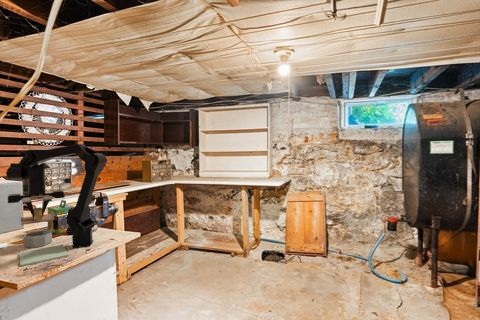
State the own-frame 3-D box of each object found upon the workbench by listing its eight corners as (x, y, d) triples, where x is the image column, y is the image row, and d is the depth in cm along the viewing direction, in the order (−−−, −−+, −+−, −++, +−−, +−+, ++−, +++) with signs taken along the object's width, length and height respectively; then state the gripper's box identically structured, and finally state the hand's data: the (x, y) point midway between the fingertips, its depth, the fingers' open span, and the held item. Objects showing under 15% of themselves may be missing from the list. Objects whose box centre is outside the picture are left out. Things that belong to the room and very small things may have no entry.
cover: (52, 214, 121) (52, 204, 121) (55, 220, 113) (55, 209, 113) (20, 219, 114) (20, 208, 114) (21, 224, 106) (21, 213, 106)
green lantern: (47, 231, 132) (46, 201, 132) (67, 226, 140) (66, 198, 139) (55, 234, 127) (55, 203, 126) (76, 229, 135) (75, 200, 134)
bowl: (50, 238, 121) (50, 228, 121) (52, 244, 114) (52, 233, 114) (24, 243, 115) (23, 233, 115) (24, 249, 108) (24, 238, 108)
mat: (62, 245, 113) (62, 244, 113) (68, 256, 102) (68, 254, 102) (19, 254, 104) (19, 252, 104) (20, 266, 93) (20, 264, 93)
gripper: (60, 176, 125) (61, 209, 126) (7, 179, 113) (8, 216, 114) (64, 178, 117) (65, 214, 117) (6, 182, 105) (8, 222, 105)
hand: (37, 216), depth 114 cm, fingers closed on cover, 3 cm apart
